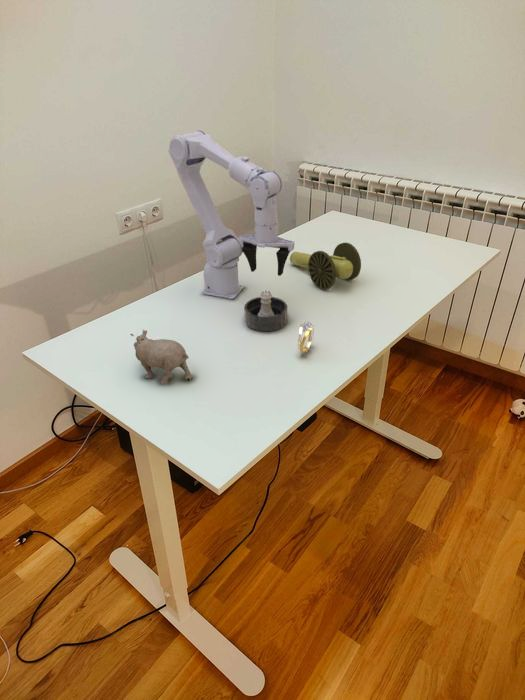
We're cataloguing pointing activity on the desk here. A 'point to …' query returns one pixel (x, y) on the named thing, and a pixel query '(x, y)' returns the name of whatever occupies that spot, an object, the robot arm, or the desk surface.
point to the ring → (311, 333)
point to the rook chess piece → (265, 304)
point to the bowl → (265, 322)
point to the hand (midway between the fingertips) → (267, 272)
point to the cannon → (330, 265)
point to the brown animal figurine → (161, 356)
